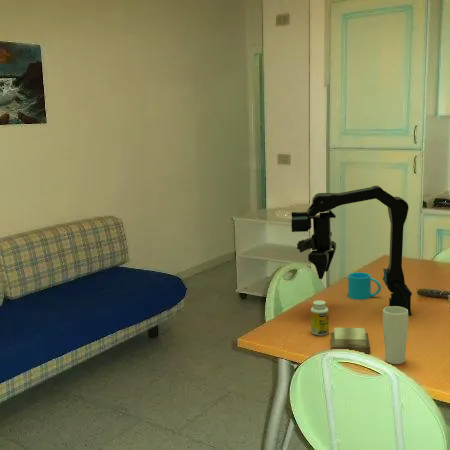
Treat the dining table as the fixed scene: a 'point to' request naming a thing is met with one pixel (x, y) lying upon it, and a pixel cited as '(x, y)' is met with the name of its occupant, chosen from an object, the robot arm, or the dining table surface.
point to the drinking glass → (395, 333)
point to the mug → (361, 286)
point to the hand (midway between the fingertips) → (323, 275)
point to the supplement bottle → (319, 318)
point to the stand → (350, 339)
